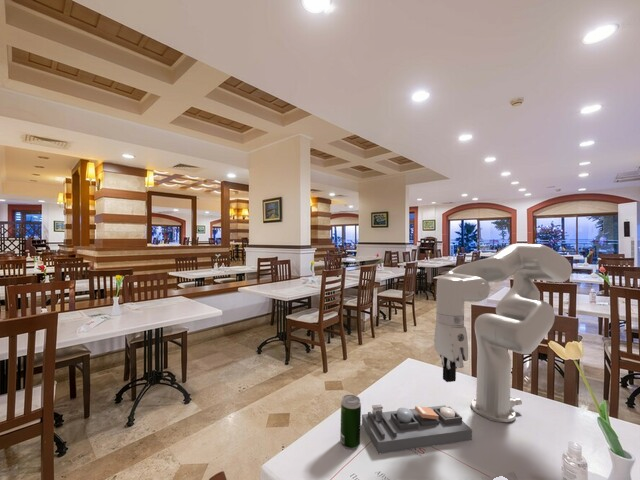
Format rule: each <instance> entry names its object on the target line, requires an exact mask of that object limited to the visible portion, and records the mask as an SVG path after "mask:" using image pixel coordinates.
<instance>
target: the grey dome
mask: <svg viewBox="0 0 640 480" xmlns="http://www.w3.org/2000/svg"><path fill="white" fill-rule="evenodd" d="M396 411H397V419H398V420H399V421H400V422H403V423H410V422H411V421H412V412H411V411H410V410H409V408H407V407H399V408H398V409H397V410H396Z"/></svg>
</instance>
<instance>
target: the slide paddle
mask: <svg viewBox="0 0 640 480" xmlns="http://www.w3.org/2000/svg"><path fill="white" fill-rule="evenodd" d="M371 408H372V412H371V413H372V415H373V417H374V418H375V420H376V421H382V412H383V409H384V406H383V405H382V404H375V405H371Z"/></svg>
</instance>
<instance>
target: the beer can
mask: <svg viewBox="0 0 640 480" xmlns="http://www.w3.org/2000/svg"><path fill="white" fill-rule="evenodd" d="M361 425H362V402H361V399H360V397H359V396H357V395H356V394H355V395H354V394H345V395H343V396H342V399H341V402H340V428H339V430H340V434H339V435H340V437H339V438H340V439H339V441H340V444H341V446H342V448H344V449H346V450H350V451H353V450H356V449H357V448H359V446H360V444H361Z"/></svg>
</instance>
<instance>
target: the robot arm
mask: <svg viewBox="0 0 640 480" xmlns="http://www.w3.org/2000/svg"><path fill="white" fill-rule="evenodd" d="M572 271H573V268H572V265H571V263H570V261H569V260H568V258H566V257H565V256H563V255H562V254H561V253H559V252H558V251H556V250H554V249H553V248H551V247H549V246H547V245H544V244H540V243H539V244H536V243H533V244H532V243H512V244H509V245H507V246H505V247H503V248H501V249H500V250H499V251H496V252H495V253H494V254H492V255H490V256H489V257H486V258H483V259H478V260H475V261H471V262H468V263H464V264H460V265H457V266H455V267H454V268H452V269H450V270H449V271H447V272H446V273H445V274H444V275H443V276H440V277H438V278H437V281H436V309H435V310H436V311H435V314H436V316H435V317H436V319H435V320H436V322H435V327H434V334H433V335H434V337H433V338H434V339H433V341H434V342H433V343H434V344H433V345H434V350H435V352H436V354H437V355H438V356H439V357H440V360H441V365H442V380H444V381H445V382H446V383H451V382H456V378H457V369H459V368H460V369H461V368H464V365H465V364H464V362H468V361H469V341H468V333H467V329H466V326H465V302H474V303H479V302H482V301H484V300H486V299H487V298H488V297H489V296H490V293H491V286H490V284H489V283H499V282H503V281H505V280H507V279H509V278H511V277H512V279H513V285H512V287H511V288H510V289H509V290H508V291H507V293H506V294H505V295H504V296H503V297H502V298H501V299H500V300H499V301H498V303H497V304H496V306H495V313H496V314H495V313H490V312H489V313H487V312H486V313H482V314H480V315H478V316H477V317H476V318H475V321H474V334H475V339H476V346H477V347H476V348H477V349H476V350H477V357H476V358H477V360H476V395H475V397H474V398H472V399H471V401H470V407H471V408H472V410H473V411H474V412H475V413H476V414H478V415H479V416H482V417H483V418H485V419H487V420H490V421H494V422H499V423H511V422H513V421H515V419H516V416H517V415H516V414H517V413H516V412H515V410H514V409H513V407H515V406H522V404H523V401H522V399H521V398H519V397H517V398H512V396H511V383H512V382H511V380H512V376H511V375H512V373H511V372H512V360H511V356H510V353H509V351H512V352H514V353H517V354H521V355H529V354H531V353H533V352H534V351H535V350H536V349H537V348H538V346H539V345H540V344H541V342H543V340H544V338H546V336H547V334H548V333H549V332H550V330H552V327H553V326H554V323H555V319H556V315H555V309H554V308H553V306H552V305H551V304H550V303H548V302H547V301H544V300H542V299H540V298H541V293H540V291H539V288H538V287H537V285H536V283H534V281H542V282H543V281H544V282H551V283H564V282H566V281H567V280H569V279H570V278H571V276H572V273H573V272H572ZM533 280H534V281H533ZM508 350H509V351H508Z"/></svg>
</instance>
